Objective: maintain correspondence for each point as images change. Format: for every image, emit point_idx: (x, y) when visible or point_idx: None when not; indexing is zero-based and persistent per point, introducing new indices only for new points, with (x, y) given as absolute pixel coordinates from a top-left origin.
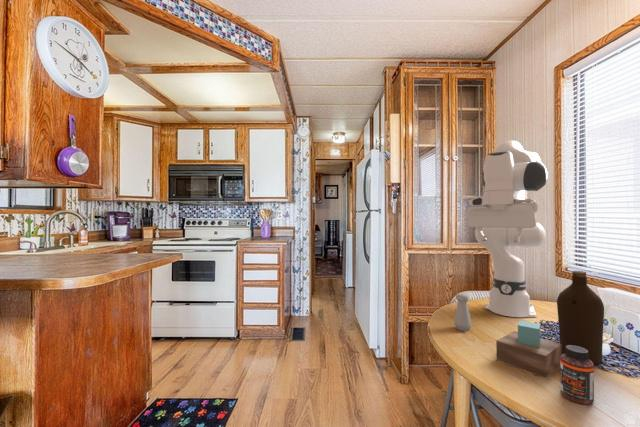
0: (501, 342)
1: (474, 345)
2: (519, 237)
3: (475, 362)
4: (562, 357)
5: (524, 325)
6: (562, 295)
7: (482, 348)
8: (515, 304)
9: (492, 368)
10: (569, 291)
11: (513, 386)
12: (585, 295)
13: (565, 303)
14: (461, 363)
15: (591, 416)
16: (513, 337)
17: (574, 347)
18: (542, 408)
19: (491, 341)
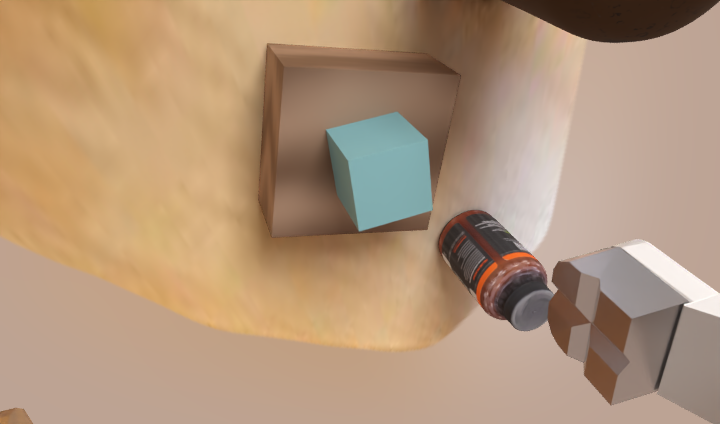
0: (290, 235)
1: (132, 140)
2: (702, 284)
3: (217, 267)
4: (488, 310)
5: (380, 213)
6: (591, 3)
7: (172, 143)
8: None
9: (273, 260)
10: (647, 5)
11: (347, 301)
12: (703, 12)
13: (575, 31)
14: (191, 306)
15: None
16: (307, 153)
17: (530, 308)
18: (413, 329)
19: (156, 30)
